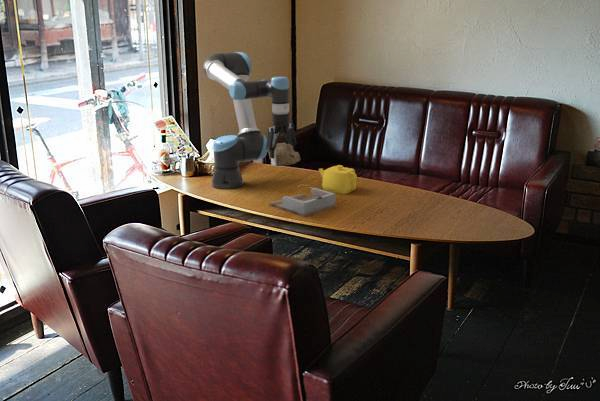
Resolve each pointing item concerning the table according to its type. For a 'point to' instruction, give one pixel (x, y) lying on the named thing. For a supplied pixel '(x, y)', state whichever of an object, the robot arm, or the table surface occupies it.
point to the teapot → (338, 179)
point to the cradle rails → (310, 201)
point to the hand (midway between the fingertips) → (281, 163)
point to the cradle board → (301, 197)
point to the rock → (285, 154)
